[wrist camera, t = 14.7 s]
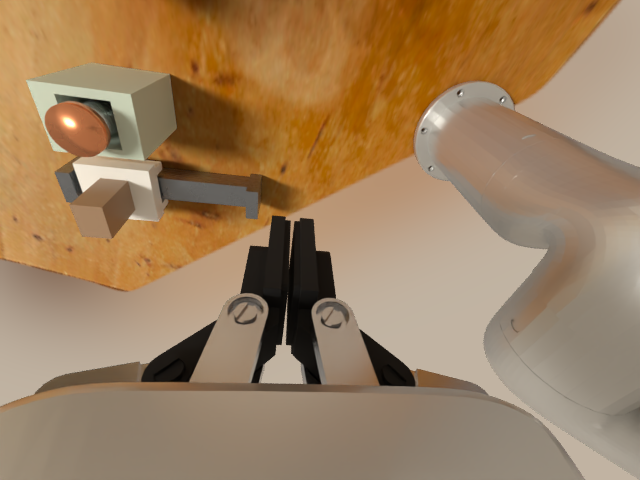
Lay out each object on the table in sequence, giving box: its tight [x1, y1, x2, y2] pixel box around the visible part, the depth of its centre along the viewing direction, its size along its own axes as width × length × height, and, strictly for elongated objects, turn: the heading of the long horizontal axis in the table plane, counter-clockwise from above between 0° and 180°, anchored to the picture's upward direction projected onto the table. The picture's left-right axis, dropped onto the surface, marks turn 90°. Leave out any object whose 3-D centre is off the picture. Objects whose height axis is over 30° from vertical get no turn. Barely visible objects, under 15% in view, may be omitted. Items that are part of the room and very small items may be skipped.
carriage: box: [69, 155, 168, 239], centre depth 36 cm, size 8×7×10 cm
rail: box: [55, 156, 262, 219], centre depth 39 cm, size 23×4×5 cm, turn 82°
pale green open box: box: [26, 63, 177, 161], centre depth 31 cm, size 8×6×10 cm
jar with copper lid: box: [45, 99, 118, 157], centre depth 28 cm, size 4×4×6 cm
